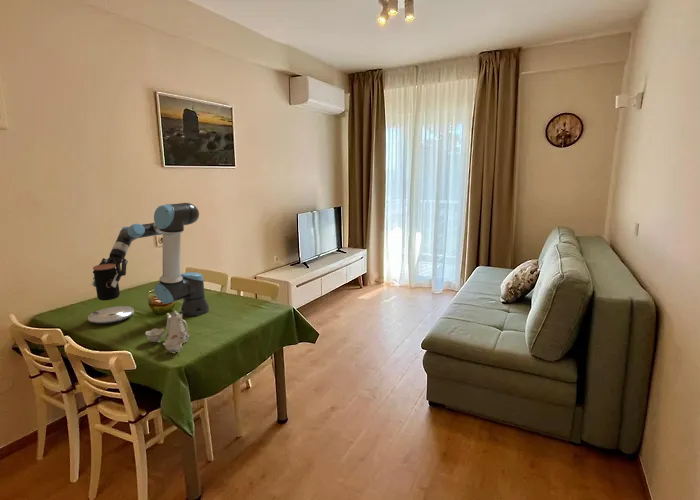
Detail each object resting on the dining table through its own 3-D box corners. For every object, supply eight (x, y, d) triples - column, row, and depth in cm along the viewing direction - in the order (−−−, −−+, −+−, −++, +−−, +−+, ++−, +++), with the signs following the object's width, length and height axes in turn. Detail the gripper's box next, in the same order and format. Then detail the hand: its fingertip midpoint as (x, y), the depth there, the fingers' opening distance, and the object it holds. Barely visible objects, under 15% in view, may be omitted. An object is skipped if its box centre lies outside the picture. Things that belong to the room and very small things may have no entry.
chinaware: (140, 346, 188) (132, 315, 183) (171, 331, 201) (165, 301, 196) (175, 361, 173) (167, 328, 168) (206, 343, 186) (200, 312, 181)
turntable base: (134, 314, 224) (134, 310, 224) (115, 325, 209) (115, 321, 208) (109, 313, 226) (108, 310, 226) (88, 324, 210) (87, 320, 210)
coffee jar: (109, 301, 209) (104, 269, 205) (92, 300, 211) (87, 268, 207) (124, 295, 219) (120, 264, 215) (108, 293, 221) (103, 263, 217)
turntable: (142, 308, 226) (142, 306, 226) (116, 323, 205) (116, 320, 205) (107, 307, 229) (107, 305, 228) (78, 322, 207) (77, 319, 207)
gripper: (141, 255, 224) (127, 289, 212) (104, 254, 227) (88, 288, 215) (134, 248, 218) (119, 283, 206) (96, 247, 220) (79, 282, 208)
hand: (103, 286), depth 210 cm, fingers closed on coffee jar, 11 cm apart
